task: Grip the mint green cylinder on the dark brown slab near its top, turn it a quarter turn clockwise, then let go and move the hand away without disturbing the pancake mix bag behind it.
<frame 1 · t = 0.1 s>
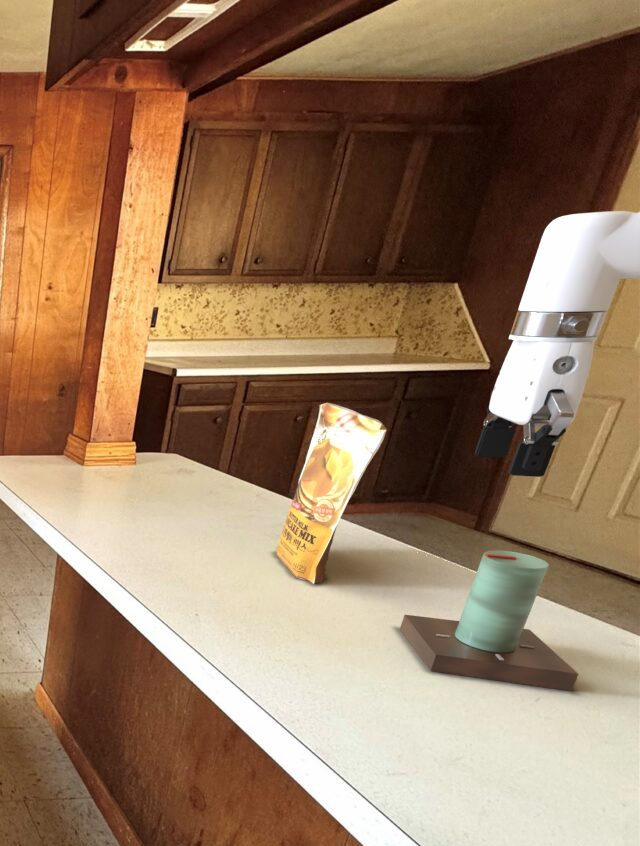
hand: (506, 465, 86), 25 cm above the countertop, tool pointing down, fingers open, 9 cm apart
dark brown slab: (478, 657, 89), on the countertop
pancake mix bag: (303, 567, 119), on the countertop
mint green cylinder: (499, 600, 86), point 9 cm above the countertop, hinge at 0.0°
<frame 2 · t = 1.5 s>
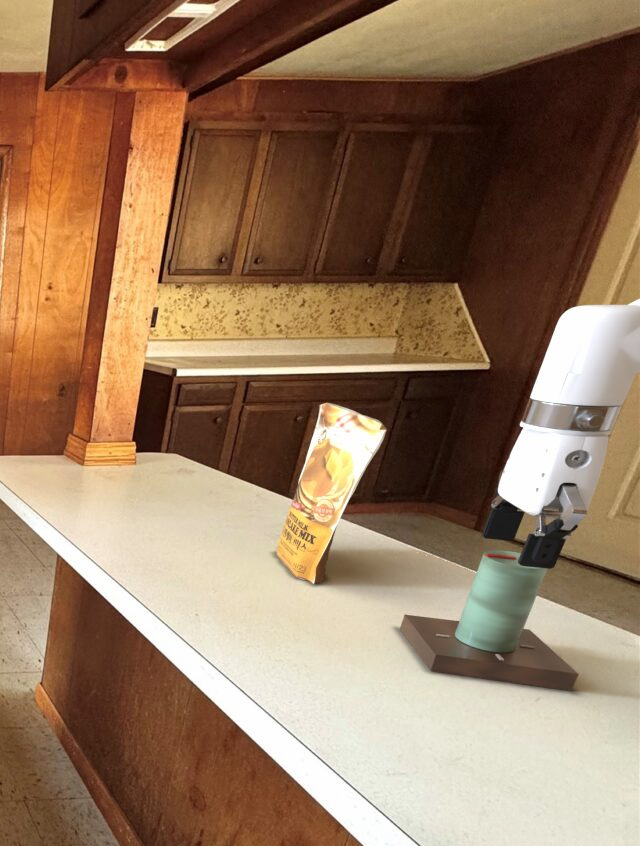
hand: (515, 552, 84), 16 cm above the countertop, tool pointing down, fingers open, 9 cm apart
nothing on the countertop moved.
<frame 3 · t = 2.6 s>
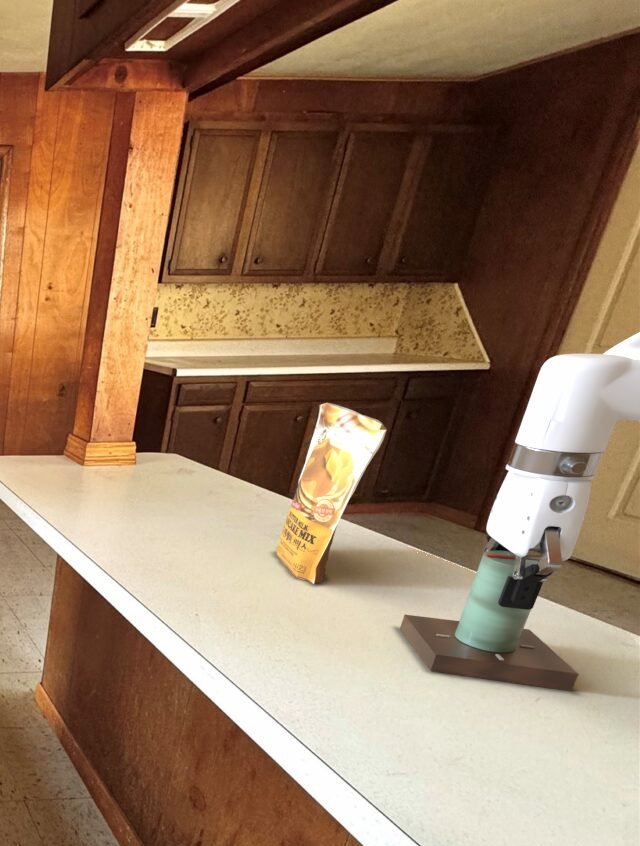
hand: (501, 594, 86), 9 cm above the countertop, tool pointing down, fingers closed on mint green cylinder, 6 cm apart
mint green cylinder: (499, 600, 86), point 9 cm above the countertop, hinge at 0.0°, touching gripper
everything else where it was.
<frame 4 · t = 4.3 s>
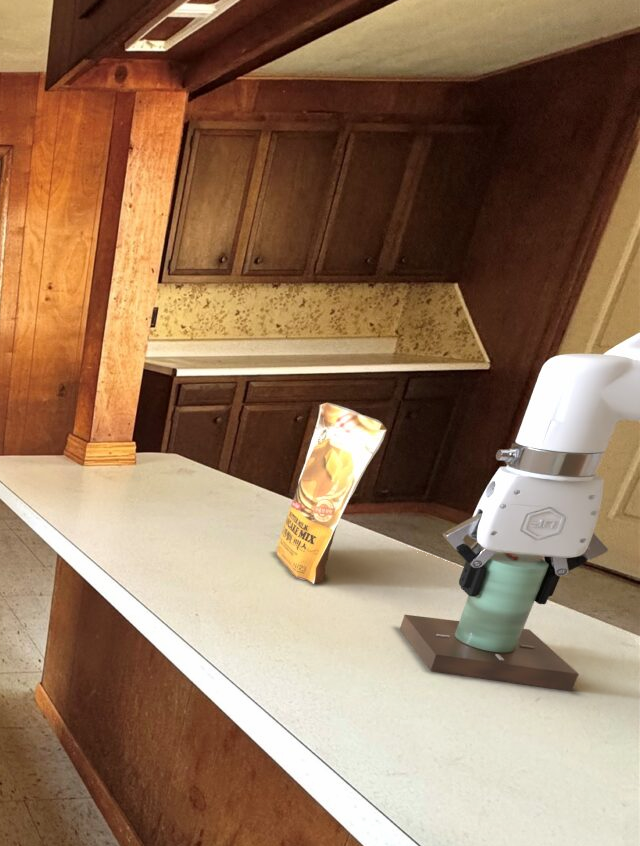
hand: (501, 594, 86), 9 cm above the countertop, tool pointing down, fingers closed on mint green cylinder, 6 cm apart
mint green cylinder: (499, 600, 86), point 9 cm above the countertop, hinge at -90.6°, touching gripper
everything else where it was.
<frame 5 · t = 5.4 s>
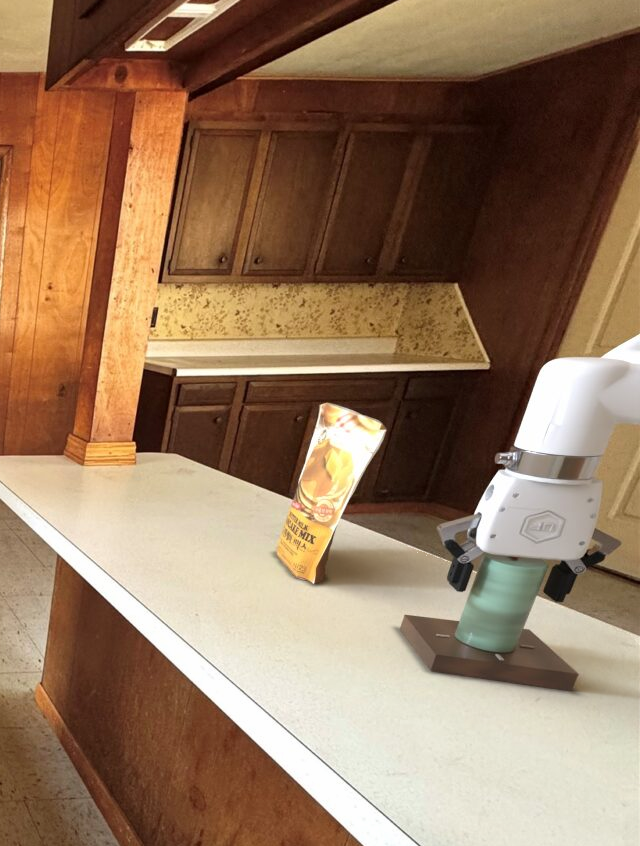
hand: (503, 592, 86), 10 cm above the countertop, tool pointing down, fingers open, 9 cm apart
mint green cylinder: (499, 600, 86), point 9 cm above the countertop, hinge at -90.9°
everything else where it was.
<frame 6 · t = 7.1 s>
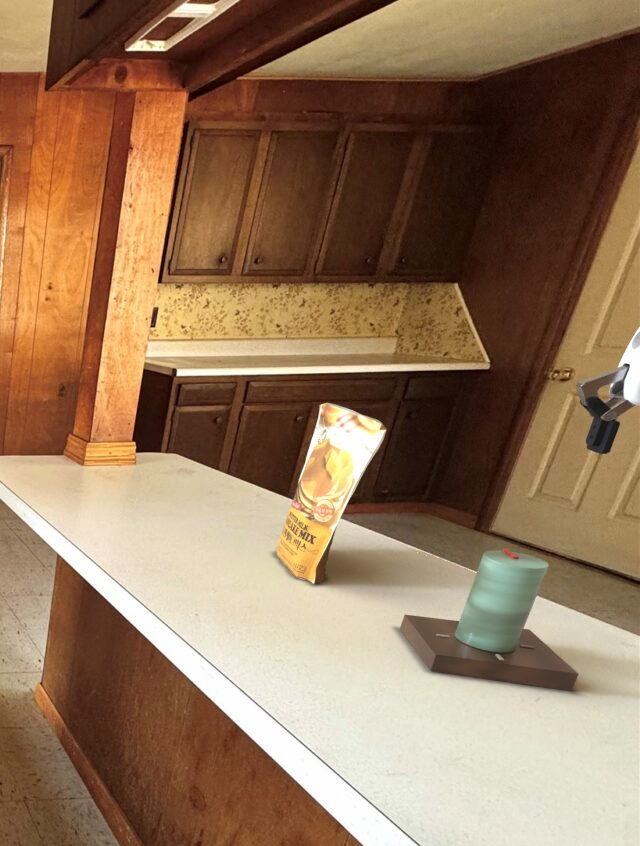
nothing on the countertop moved.
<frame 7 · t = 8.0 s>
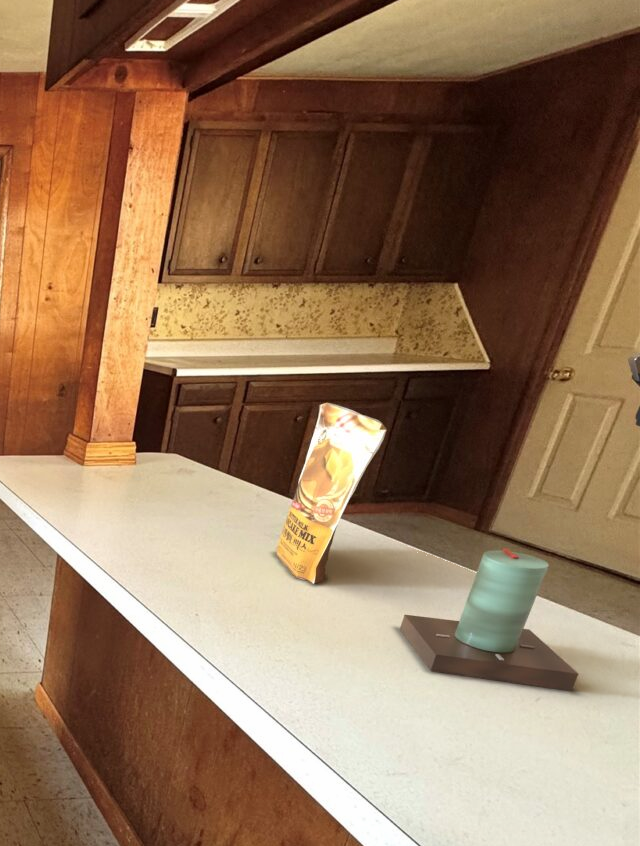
nothing on the countertop moved.
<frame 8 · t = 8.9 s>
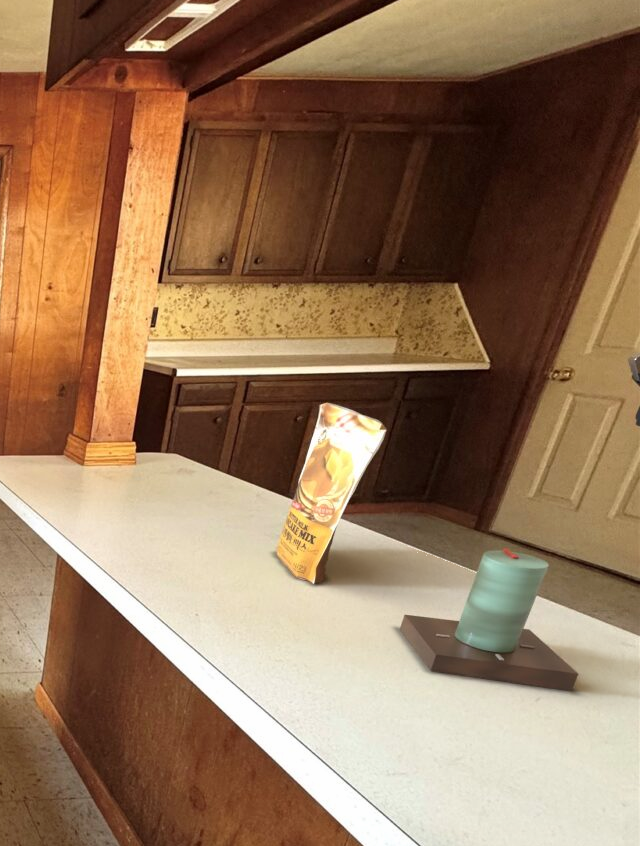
nothing on the countertop moved.
at the end: mint green cylinder at -91° (first picture: +0°); the gripper is holding nothing; pancake mix bag moved 0.2 cm from its start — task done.
